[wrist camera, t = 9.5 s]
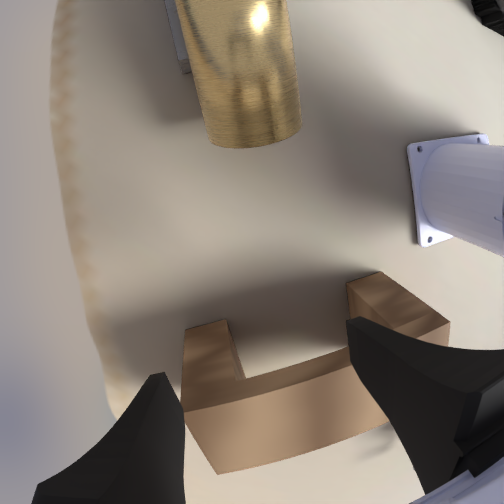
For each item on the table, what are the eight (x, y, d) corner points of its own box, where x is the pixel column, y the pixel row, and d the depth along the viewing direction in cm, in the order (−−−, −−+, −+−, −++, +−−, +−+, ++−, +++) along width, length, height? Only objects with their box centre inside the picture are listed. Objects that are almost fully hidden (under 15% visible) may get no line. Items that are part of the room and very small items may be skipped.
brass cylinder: (243, -75, 10) (288, -100, 7) (275, 104, 18) (320, 129, 15) (151, -62, 9) (168, -94, 6) (198, 127, 18) (225, 158, 14)
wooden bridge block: (381, 271, 23) (450, 322, 15) (384, 335, 25) (440, 395, 17) (185, 329, 22) (179, 413, 14) (210, 390, 24) (217, 474, 16)
